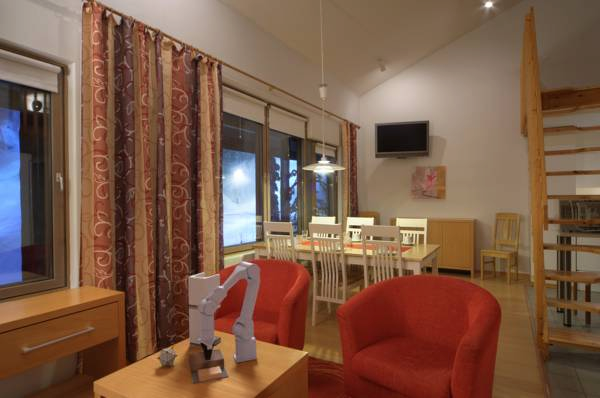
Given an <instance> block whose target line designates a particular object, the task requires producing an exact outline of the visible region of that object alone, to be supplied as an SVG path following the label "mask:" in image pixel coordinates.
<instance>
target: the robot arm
mask: <svg viewBox="0 0 600 398" xmlns="http://www.w3.org/2000/svg"><path fill="white" fill-rule="evenodd" d="M260 273H261V268H260V267H259V266H258V264H257V263H251V262H248V261H244V260H243V261H241V262H239V263H238V265H236V267H235V268H234V270H233V272H232V273H231V274H230V275H229V277H228V278H227V279H226V280H225V281H224V283H223V284H222V285H220V286H218V287H217V288H214V289H213V290H214V291H213V292H212V293H211V294H210V295H209V296H207V297H206V299H204V300H202V301H201V302H200V303H199V305H198V307H197V309H198V311H199V312H200V332H201V338H200V339H198V342H201V343H200V344H201V347H202V352H204V357H205V360H210V359H211V355H212V350H214V347H216V344H214V340H215V337H214V336H215V313H216V311H217V309H218V308H217V306H218V304H219V303H220V304H221V302H222V301H223V300H224V299H225V298H227V295H228V291H229V290H230V289H231V288H232V287H233V286H234V285H236V283H237V282H239V281H240V280H244V279H245V280H246V282H247V285H246V286H247V287H246V290H245V294H244V299H243V303H242V307H241V311H240V316H239V317H237V318H236V320H235V323H234V324H233V325H232V330H231V332H232V335H234V339H235V340H234V341H235V346H234V347H235V354H233V359H234V360H235V362H236V363H242V362H247V361H252V360H253V361H254V360H257V359H258V357H257V356H258V355H257V340H256V337H255V336H254V334H255V329H254V327H255V324H254V321H253V316H254V315H253V314H254V310H255V306H256V301H257V298H258V294H259V293H258V292H259V290H260V289H259V288H260V285H261V276H260ZM216 308H217V309H216Z"/></svg>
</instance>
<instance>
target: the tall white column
mask: <svg viewBox="0 0 600 398" xmlns="http://www.w3.org/2000/svg"><path fill="white" fill-rule="evenodd" d="M205 274H206V272H203V271H202V272H200V273H197V274H193V275H190V276H188V277H187V278H188V279H187V280H188V281H187V282H188V284H187V285H188V322H189V323H188V326H189V327H188V331H189V332H188V333H189V336H188V337H189V347H192V348H197V349H202V347H201V344H200V343H201V342H198V339H200V338H201V332H200V312H199V311H198V309H197V307H198V305H199V303H200V302H201V301H202V300H204V299H206V297H207V296H209V295H210V294H211V293H212V292H213V291H214V290H213V289H214V288H217V287H218V286H221V276H220V275H221V274H220V273H217V274H213V275H211V276H206V275H205ZM219 308H221V302H220V303H219V304H218V306H217V308H216V310H217V309H219ZM214 337H215V340H214V344H215V345H217V344H219V343H220V342H221V341H222V338H221V336H216V335H214ZM202 350H203V349H202Z"/></svg>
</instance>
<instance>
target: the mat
mask: <svg viewBox="0 0 600 398" xmlns="http://www.w3.org/2000/svg"><path fill="white" fill-rule="evenodd" d="M220 369H221V371H222V377H220V378H215V379H210V380H205V381H199V377H198V372H195V373H191V372H190V375H191V378H192V383H193V384H194V385H195V384H199V383H206V382H210V381H215V380H221V379H224V378H225V379H226V378H229V374H228V372H227V370H226V367H225V366H224V367H221V368H220Z"/></svg>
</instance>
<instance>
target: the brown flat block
mask: <svg viewBox="0 0 600 398" xmlns="http://www.w3.org/2000/svg"><path fill="white" fill-rule="evenodd" d="M188 365H189V370H190V374H191V373H195V372H198V370H202V369H207V368H212V367H218V366H220V368H221V367H225V358H224V355H223V353H222V351H221V349H220V348H218V349H213V350H212V355H211V359H210V360H205V357H204V352H203V351H200V352H194V353H193V352H192V353H189V354H188Z"/></svg>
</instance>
